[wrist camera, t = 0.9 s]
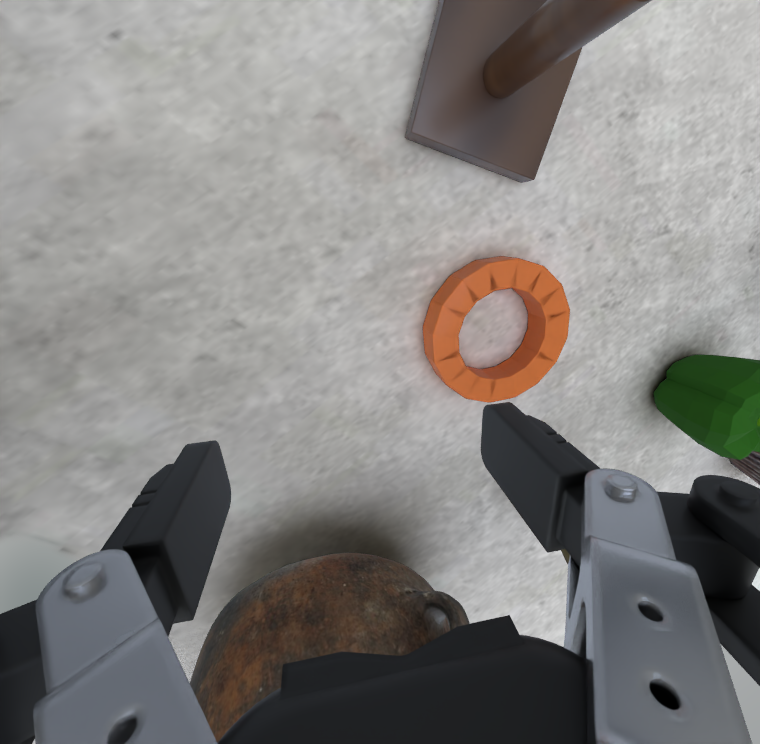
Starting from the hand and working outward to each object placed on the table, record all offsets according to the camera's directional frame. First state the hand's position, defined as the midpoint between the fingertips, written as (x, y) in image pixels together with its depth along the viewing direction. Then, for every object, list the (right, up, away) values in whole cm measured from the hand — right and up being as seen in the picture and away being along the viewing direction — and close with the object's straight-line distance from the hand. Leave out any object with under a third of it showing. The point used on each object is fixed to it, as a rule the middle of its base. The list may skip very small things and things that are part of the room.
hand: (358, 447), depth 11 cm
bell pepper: (+30, +1, +24) cm, 39 cm away
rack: (+8, +21, +12) cm, 25 cm away
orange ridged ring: (+10, +6, +18) cm, 21 cm away
